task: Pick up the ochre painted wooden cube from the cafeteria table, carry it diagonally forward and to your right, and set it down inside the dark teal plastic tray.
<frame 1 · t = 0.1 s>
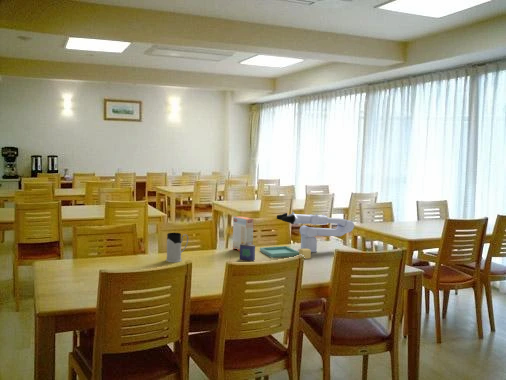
hand: (279, 218, 278), 22 cm above the table, tool horizontal, fingers open, 7 cm apart
blue gift bag: (247, 260, 260), on the table
teal tray: (279, 253, 279), on the table
cracker box: (242, 251, 284), on the table
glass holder: (177, 260, 258), on the table
ochre cube: (304, 257, 270), on the table
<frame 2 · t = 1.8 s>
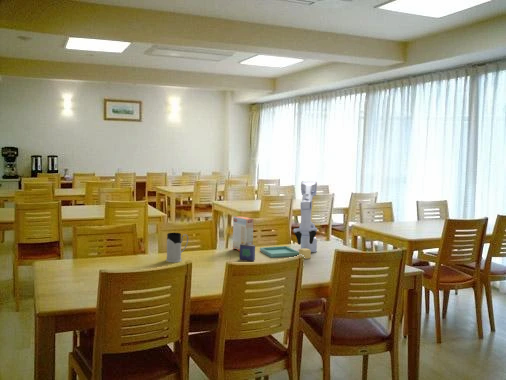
hand: (305, 243, 269), 8 cm above the table, tool pointing down, fingers open, 7 cm apart
nothing on the table moved.
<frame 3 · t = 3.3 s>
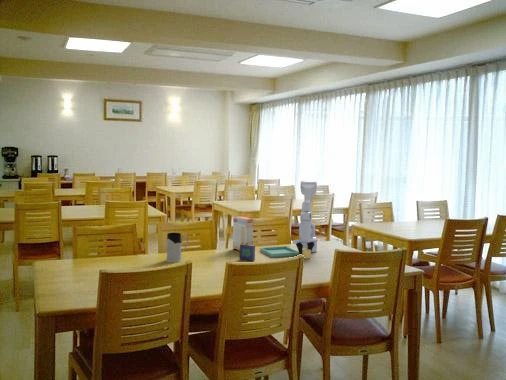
hand: (304, 255, 270), 1 cm above the table, tool pointing down, fingers closed on ochre cube, 5 cm apart
ochre cube: (304, 257, 270), on the table, touching gripper
everything else where it was.
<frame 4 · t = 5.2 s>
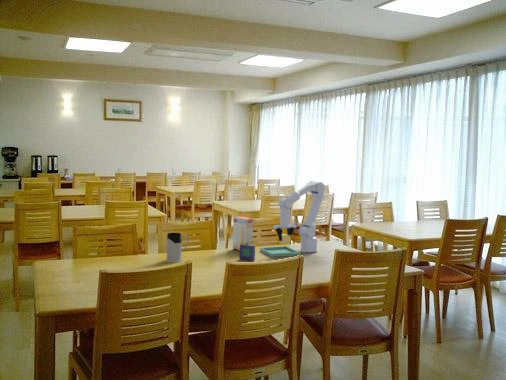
hand: (284, 240, 277), 8 cm above the table, tool pointing down, fingers closed on ochre cube, 5 cm apart
ochre cube: (284, 243, 277), point 7 cm above the table, touching gripper
everything else where it was.
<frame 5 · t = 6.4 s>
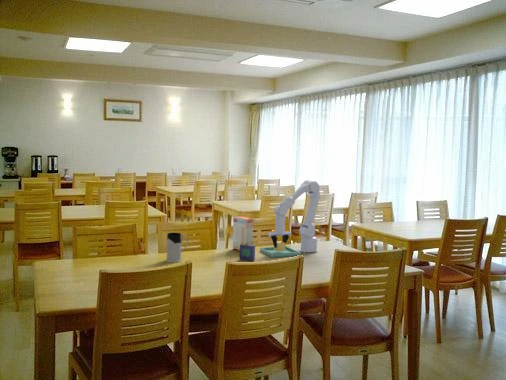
hand: (279, 247, 279), 4 cm above the table, tool pointing down, fingers closed on ochre cube, 5 cm apart
ochre cube: (279, 250, 279), point 2 cm above the table, touching gripper
everything else where it was.
when the fingers open (3 cm above the table, at t = 7.3 s): ochre cube drops 1 cm, resting on teal tray.
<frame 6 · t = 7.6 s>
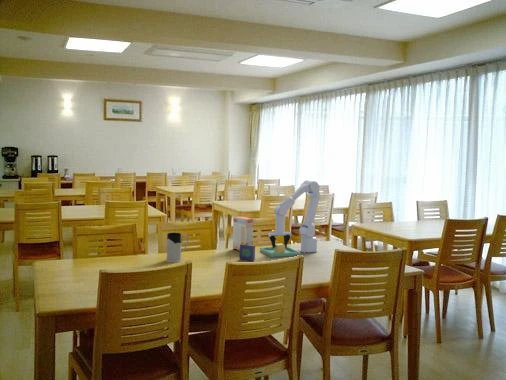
hand: (279, 247, 279), 4 cm above the table, tool pointing down, fingers open, 7 cm apart
ochre cube: (279, 252, 279), point 1 cm above the table, touching teal tray
everything else where it was.
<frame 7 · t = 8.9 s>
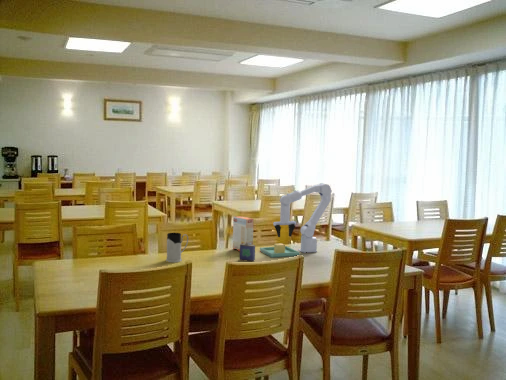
hand: (284, 236, 284), 9 cm above the table, tool pointing down, fingers open, 7 cm apart
nothing on the table moved.
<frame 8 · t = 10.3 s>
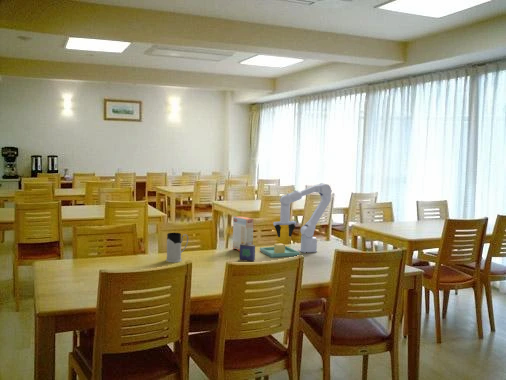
hand: (284, 236, 284), 9 cm above the table, tool pointing down, fingers open, 7 cm apart
nothing on the table moved.
at the end: ochre cube inside the target area on the teal tray (0.2 cm from its centre), point 0.6 cm above the teal tray's base; ochre cube tilted 0°; the gripper is holding nothing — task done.
